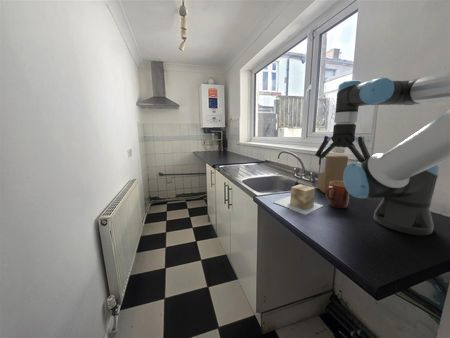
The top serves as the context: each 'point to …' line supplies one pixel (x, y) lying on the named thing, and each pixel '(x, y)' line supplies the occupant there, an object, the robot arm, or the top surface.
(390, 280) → the top surface
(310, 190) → the oak block
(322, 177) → the wooden block
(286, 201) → the board
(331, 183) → the mug
